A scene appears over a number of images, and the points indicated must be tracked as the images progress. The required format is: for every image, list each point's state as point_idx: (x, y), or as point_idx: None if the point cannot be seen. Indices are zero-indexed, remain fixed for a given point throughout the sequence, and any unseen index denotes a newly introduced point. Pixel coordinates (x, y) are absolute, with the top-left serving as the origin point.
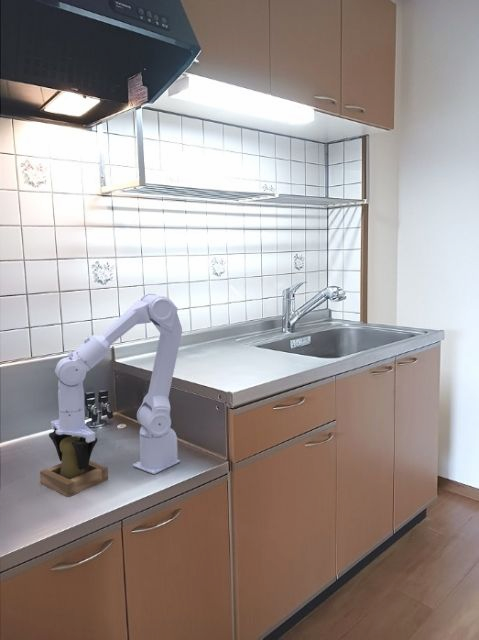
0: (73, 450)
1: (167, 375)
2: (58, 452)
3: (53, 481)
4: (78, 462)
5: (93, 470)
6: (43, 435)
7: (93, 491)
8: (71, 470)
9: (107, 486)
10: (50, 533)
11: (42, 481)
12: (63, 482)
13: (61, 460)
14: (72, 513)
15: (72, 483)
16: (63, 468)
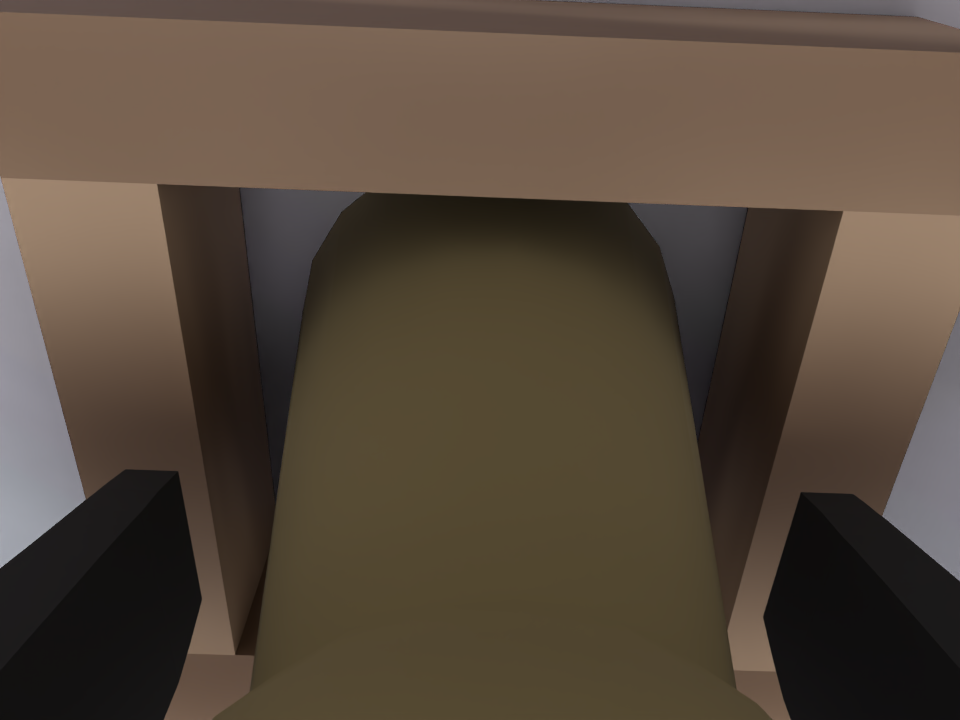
0: None
1: None
2: (948, 623)
3: (515, 22)
4: (57, 561)
5: (209, 596)
6: None
7: (17, 323)
8: (320, 378)
9: (35, 491)
10: None
11: (877, 22)
12: (118, 17)
13: (805, 504)
14: None
15: (5, 131)
16: (485, 325)
